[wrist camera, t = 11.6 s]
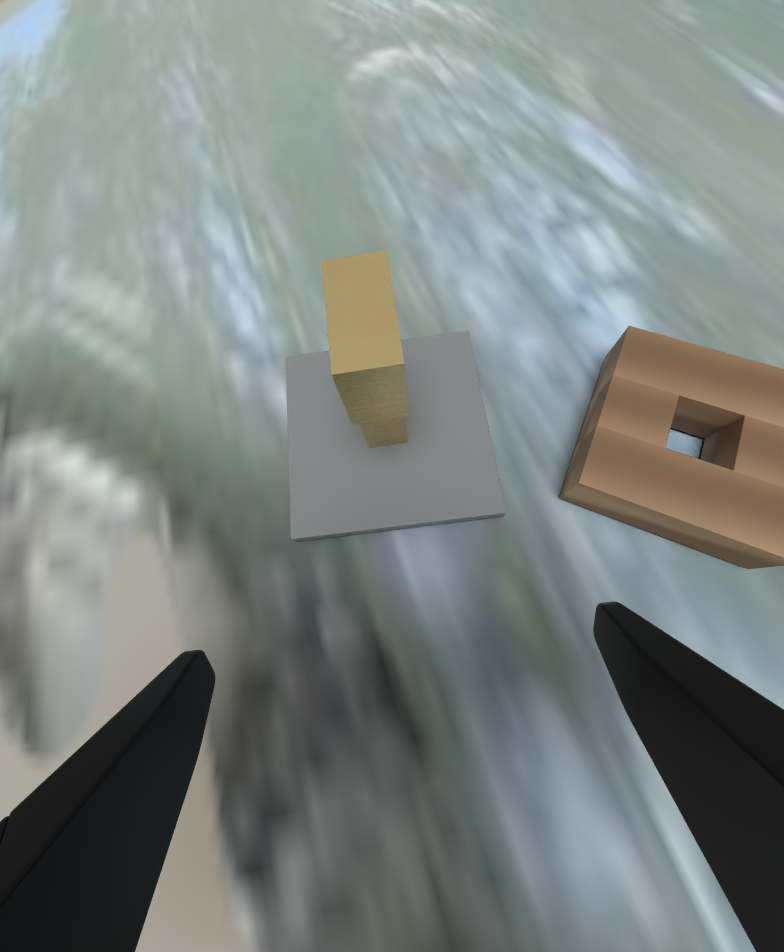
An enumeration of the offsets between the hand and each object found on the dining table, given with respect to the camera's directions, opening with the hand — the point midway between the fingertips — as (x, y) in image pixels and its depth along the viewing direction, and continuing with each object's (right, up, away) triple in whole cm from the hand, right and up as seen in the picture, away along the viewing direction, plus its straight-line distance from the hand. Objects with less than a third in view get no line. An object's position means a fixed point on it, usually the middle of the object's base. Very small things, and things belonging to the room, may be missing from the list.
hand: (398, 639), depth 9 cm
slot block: (+16, +5, +14) cm, 22 cm away
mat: (0, +6, +16) cm, 17 cm away
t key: (0, +7, +15) cm, 16 cm away
